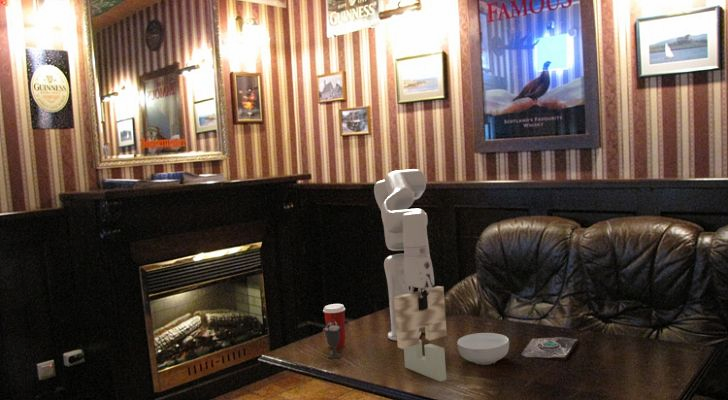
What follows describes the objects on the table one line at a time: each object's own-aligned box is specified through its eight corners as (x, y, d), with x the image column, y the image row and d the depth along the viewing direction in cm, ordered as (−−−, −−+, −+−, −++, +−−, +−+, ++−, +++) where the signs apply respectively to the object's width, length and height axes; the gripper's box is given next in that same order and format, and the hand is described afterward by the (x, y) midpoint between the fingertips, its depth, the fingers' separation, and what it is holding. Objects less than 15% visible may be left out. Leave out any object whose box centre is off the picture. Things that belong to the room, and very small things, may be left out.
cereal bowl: (478, 349, 229) (477, 329, 228) (520, 358, 217) (518, 337, 216) (448, 363, 217) (446, 342, 216) (490, 373, 205) (489, 351, 204)
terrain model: (535, 339, 236) (535, 331, 235) (579, 344, 228) (578, 335, 228) (518, 358, 218) (518, 348, 218) (565, 363, 211) (564, 353, 210)
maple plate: (442, 334, 214) (438, 285, 213) (446, 335, 212) (443, 286, 211) (397, 347, 204) (393, 296, 203) (402, 348, 202) (398, 298, 201)
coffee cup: (351, 342, 248) (348, 303, 246) (343, 349, 240) (340, 309, 238) (330, 341, 250) (327, 303, 249) (322, 348, 243) (319, 309, 241)
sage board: (410, 365, 218) (408, 336, 217) (446, 379, 203) (444, 348, 202) (405, 367, 216) (402, 337, 215) (440, 381, 201) (438, 350, 200)
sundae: (341, 359, 229) (338, 317, 228) (323, 359, 230) (319, 317, 229) (346, 353, 235) (342, 312, 234) (328, 353, 237) (324, 312, 235)
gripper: (442, 251, 201) (446, 310, 203) (410, 247, 215) (414, 302, 216) (422, 255, 197) (427, 315, 199) (391, 250, 210) (395, 306, 212)
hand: (420, 308), depth 207 cm, fingers closed on maple plate, 2 cm apart
